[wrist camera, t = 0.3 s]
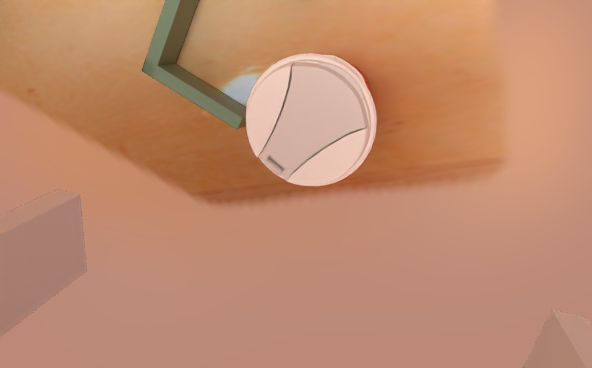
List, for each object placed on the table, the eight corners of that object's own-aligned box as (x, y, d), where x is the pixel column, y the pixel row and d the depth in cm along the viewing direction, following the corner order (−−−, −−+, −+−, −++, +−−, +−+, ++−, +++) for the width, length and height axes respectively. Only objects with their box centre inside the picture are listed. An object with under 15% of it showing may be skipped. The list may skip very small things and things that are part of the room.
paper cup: (343, 154, 35) (315, 218, 22) (279, 101, 35) (213, 136, 22) (403, 86, 32) (409, 117, 19) (332, 27, 32) (291, 18, 19)
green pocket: (160, 68, 36) (141, 70, 34) (213, -81, 31) (196, -92, 28) (248, 122, 36) (236, 129, 34) (318, -17, 31) (310, -23, 28)
